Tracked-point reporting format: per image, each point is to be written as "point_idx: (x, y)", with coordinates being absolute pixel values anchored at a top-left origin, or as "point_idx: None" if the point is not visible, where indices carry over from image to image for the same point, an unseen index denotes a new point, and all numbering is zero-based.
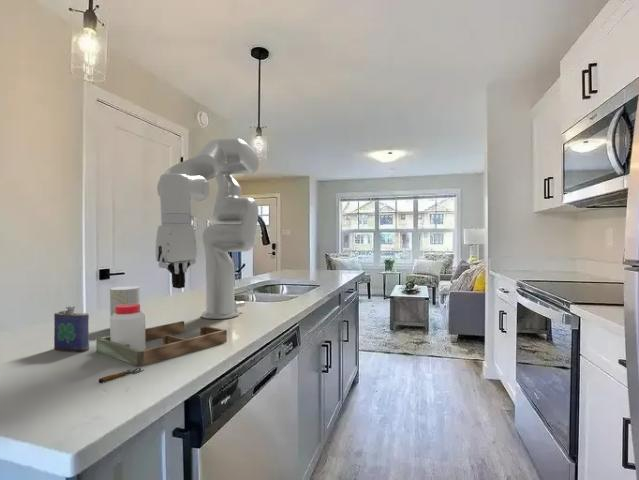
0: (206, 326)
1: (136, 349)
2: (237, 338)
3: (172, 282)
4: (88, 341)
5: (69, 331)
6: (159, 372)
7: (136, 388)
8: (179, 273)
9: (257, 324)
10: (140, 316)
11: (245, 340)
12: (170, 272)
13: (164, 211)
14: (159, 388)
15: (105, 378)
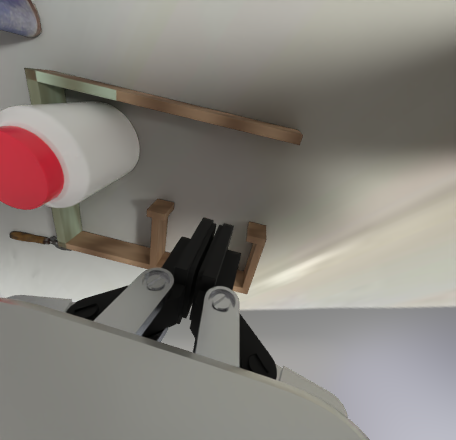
0: (261, 243)
1: (62, 231)
2: (277, 283)
3: (178, 244)
4: (19, 30)
5: None
6: (84, 271)
7: (43, 279)
8: (179, 315)
9: (422, 269)
10: (60, 207)
11: (269, 299)
12: (146, 276)
13: None
14: (61, 298)
15: (16, 239)
